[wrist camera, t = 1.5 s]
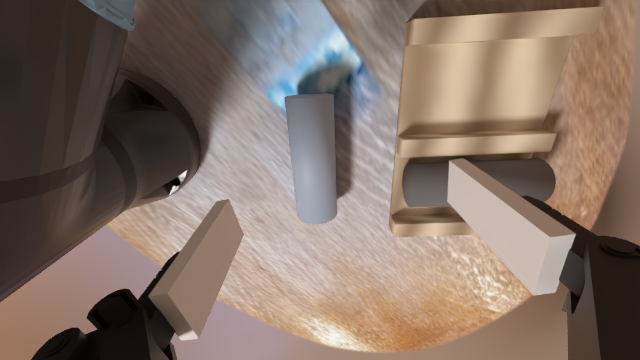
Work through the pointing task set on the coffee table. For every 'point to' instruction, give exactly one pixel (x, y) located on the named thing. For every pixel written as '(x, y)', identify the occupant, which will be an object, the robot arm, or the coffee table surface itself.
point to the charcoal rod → (516, 174)
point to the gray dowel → (313, 155)
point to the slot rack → (477, 97)
